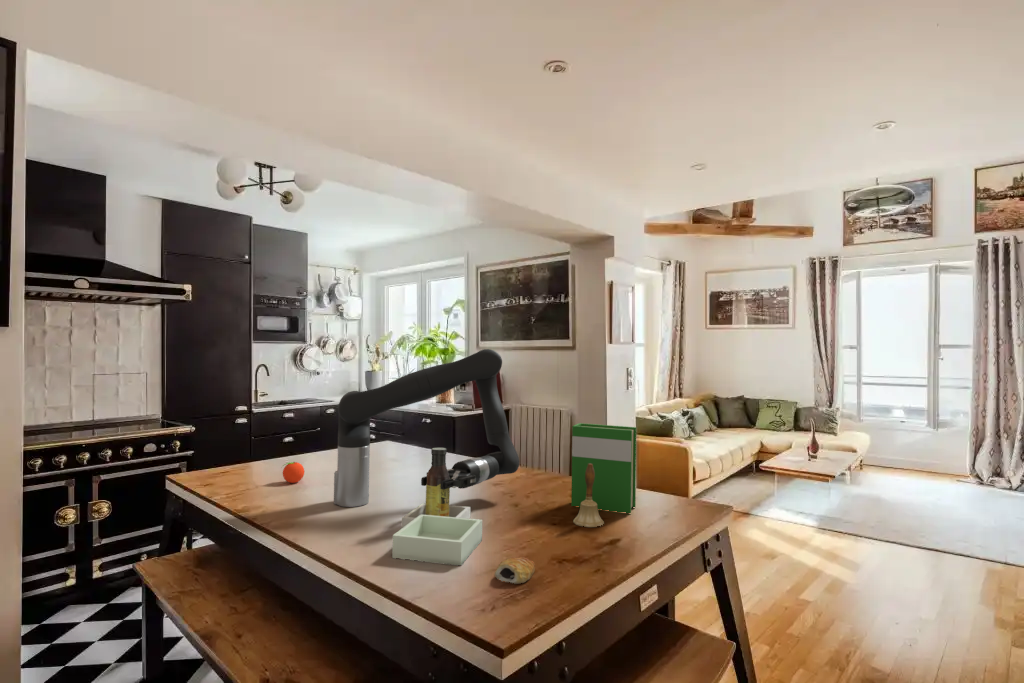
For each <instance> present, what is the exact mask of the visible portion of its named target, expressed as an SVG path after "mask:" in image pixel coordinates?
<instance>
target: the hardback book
mask: <svg viewBox="0 0 1024 683" xmlns="http://www.w3.org/2000/svg"><path fill="white" fill-rule="evenodd" d="M571 430H572V433H571V434H572V438H571V441H572V442H571V443H572V444H571V446H572V447H571V495H570V496H571V500H570V502H571V503H570V504H571V507H572V506H579V507H580V505H581V502H582V501H584V500H586V491H587V485H586V481H585V472H586V469H587V466H588V464H589V463H591V464H593V468H594V472H595V478H594V483H593V487H592V500H593V501H594V502H596V503H597V508H598V509H602V510H609V511H617V512H626V513H631V514H632V509H633V508H632V507H635V508H636V498H637V497H636V495H637V494H636V488H637V486H636V484H637V427H636V426H623V425H611V424H609V425H608V424H598V423H597V424H595V423H582V422H581V423H580V422H578V423H577V424H575V425H572V429H571ZM579 507H578V508H579Z"/></svg>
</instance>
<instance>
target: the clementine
mask: <svg viewBox="0 0 1024 683" xmlns="http://www.w3.org/2000/svg"><path fill="white" fill-rule="evenodd" d="M284 466H285V467H284ZM282 467H283V470H282V476H283V479H284V480H285V482H287V483H291V484H295V483H298V482H300V481H301V480H302V479H303V478H304V475H305V468H304V466H303V465H302V463H300V462H295V461H293V462H287V463H285V464H283V465H282Z"/></svg>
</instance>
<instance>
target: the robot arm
mask: <svg viewBox="0 0 1024 683" xmlns="http://www.w3.org/2000/svg"><path fill="white" fill-rule="evenodd" d="M502 365H503V359H502V356H501V355H500V354H499V352H497V351H496V350H494V349H491V348H484V349H481V350H478V351H477V352H475V353H473V354H471V355H468V356H466V357H464V358H463V357H462V358H461V359H459V360H455V361H451V362H447V363H442V364H438V365H433V366H430V367H427V368H423V369H420V370H416V371H414V372H411V373H407V374H405V375H402V376H400V377H399V378H396V379H394V380H393V381H390V382H389V383H387V384H385V385H382V386H379V387H377V388H372V389H368V390H363V391H362V390H361V391H359V390H351V391H348V392H347V393H345V394H344V395H343V396H341V398H340V400H339V402H338V406H337V407H338V409H337V410H338V429H337V430H338V431H337V464H336V465H337V466H336V467H337V469H336V470H335V471H334V473H333V474H334V475H333V504H334V505H337V506H339V507H344V508H345V507H347V508H349V507H350V508H352V507H353V508H354V507H360V506H364V505H367V504H368V503H369V501H370V457H371V456H370V455H371V454H370V452H371V451H370V450H371V449H370V448H371V447H370V446H371V418H372V417H375V416H377V415H380V414H382V413H384V412H387V411H390V410H393V409H397V408H402V407H405V406H410V405H412V404H416V403H419V402H423V401H426V400H429V399H432V398H435V397H438V396H440V395H442V394H444V393H446V392H449V391H450V390H453V389H455V388H457V387H458V386H460V385H463V384H466V383H469V382H473V381H474V382H475V383H476V384H475V385H476V387H477V391H478V395H479V399H480V403H481V410H482V415H483V422H484V428H485V433H486V434H485V436H486V438H487V443H488V444H489V445H491V446H496V447H498V448H499V450H500V451H495V452H491V453H487V454H486V455H483V456H479V457H471V458H468V459H464V460H461V461H458V462H455V463H454V465H453V466H452V467H451V468H447V471H448V474H449V477H450V479H447V480H443V481H441V489H442V490H445V489H448V488H450V489H452V488H453V489H456V488H458V489H467V488H469V487H473V486H475V485H479V484H481V483H482V482H485V481H488V480H491V479H493V478H494V477H496V476H498V475H507V474H509V475H510V474H514V473H516V472H517V471H518V470H519V466H520V457H519V454H518V452H517V450H516V448H515V446H514V443H513V442H512V439H511V437H510V433H509V428H508V421H507V417H506V412H505V410H504V406H503V404H502V401H501V398H500V395H499V391H498V384H497V375H498V373H499V372H500V371H501V370H502ZM427 473H428V472H426V474H427ZM420 483H421V486H423V487H426V483H427V475H426V476H423V477H421V481H420Z"/></svg>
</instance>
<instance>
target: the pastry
mask: <svg viewBox="0 0 1024 683" xmlns="http://www.w3.org/2000/svg"><path fill="white" fill-rule="evenodd" d="M535 569H536V564H535V562H534V561H533V560H531V559H529V558H527V557H523V556H522V557H510V558H506V559H505V560H502V561H501V562H500V563H499V564H498V567H497V569H496V570H495V571H494V576H495V578H496V580H498V579H499V580H501V581H500V582H503V581H505V583H509V582H510V584H513V583H514V584H513V585H518V584H519V585H521V583H522V584H525V583H526V582H527V581H529V580H530V579H531V578H532V576H533V575H534V573H535ZM499 580H498V581H499Z"/></svg>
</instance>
